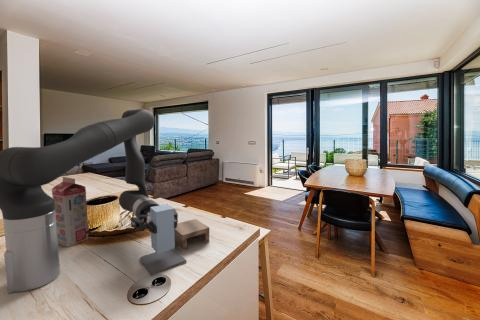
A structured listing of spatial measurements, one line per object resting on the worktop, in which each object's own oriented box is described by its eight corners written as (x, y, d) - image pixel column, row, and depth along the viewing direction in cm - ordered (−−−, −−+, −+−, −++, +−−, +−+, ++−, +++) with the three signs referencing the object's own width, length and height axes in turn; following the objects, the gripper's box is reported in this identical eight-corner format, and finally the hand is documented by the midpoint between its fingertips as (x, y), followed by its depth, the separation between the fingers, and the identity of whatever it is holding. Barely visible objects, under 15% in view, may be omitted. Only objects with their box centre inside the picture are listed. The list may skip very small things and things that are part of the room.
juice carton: (77, 234, 80) (73, 175, 78) (88, 238, 77) (84, 177, 75) (55, 242, 74) (51, 178, 72) (67, 247, 71) (62, 180, 69)
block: (157, 253, 61) (156, 212, 59) (151, 246, 65) (150, 207, 63) (174, 248, 64) (173, 208, 63) (168, 241, 68) (167, 203, 66)
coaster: (151, 275, 58) (150, 273, 57) (140, 258, 65) (140, 256, 65) (186, 262, 64) (186, 260, 64) (172, 248, 72) (172, 246, 71)
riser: (182, 250, 71) (182, 235, 70) (170, 238, 78) (170, 225, 78) (209, 241, 77) (209, 227, 76) (195, 231, 85) (195, 218, 84)
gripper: (123, 203, 70) (138, 220, 57) (167, 196, 79) (189, 209, 66) (124, 226, 70) (139, 248, 57) (168, 216, 80) (189, 233, 66)
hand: (165, 227), depth 62 cm, fingers closed on block, 5 cm apart
